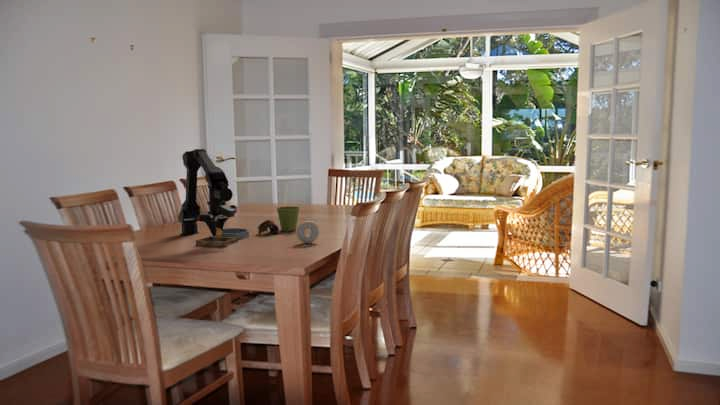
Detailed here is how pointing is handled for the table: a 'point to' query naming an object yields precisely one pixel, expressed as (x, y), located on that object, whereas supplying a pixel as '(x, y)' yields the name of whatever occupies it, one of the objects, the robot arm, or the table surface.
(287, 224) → the plant pot
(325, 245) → the table surface
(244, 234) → the bowl
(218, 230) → the ball
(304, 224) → the donut
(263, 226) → the broken clay ring
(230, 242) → the tray
